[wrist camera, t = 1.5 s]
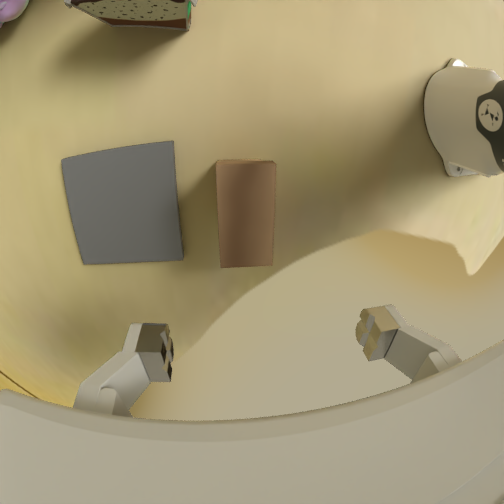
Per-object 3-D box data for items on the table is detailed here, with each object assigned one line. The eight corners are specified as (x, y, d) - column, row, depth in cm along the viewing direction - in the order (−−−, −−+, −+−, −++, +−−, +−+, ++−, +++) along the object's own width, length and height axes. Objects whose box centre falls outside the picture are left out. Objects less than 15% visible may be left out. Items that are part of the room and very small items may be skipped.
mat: (173, 140, 26) (172, 141, 25) (184, 256, 33) (183, 260, 32) (65, 158, 25) (61, 159, 24) (86, 260, 32) (83, 264, 31)
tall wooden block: (260, 150, 28) (276, 163, 20) (259, 226, 32) (272, 265, 24) (217, 151, 28) (215, 165, 20) (220, 227, 32) (220, 267, 24)
